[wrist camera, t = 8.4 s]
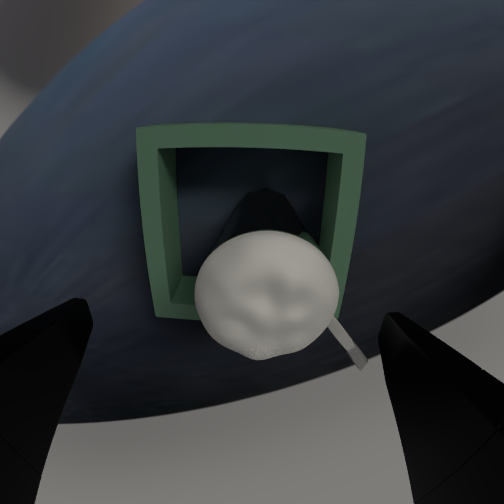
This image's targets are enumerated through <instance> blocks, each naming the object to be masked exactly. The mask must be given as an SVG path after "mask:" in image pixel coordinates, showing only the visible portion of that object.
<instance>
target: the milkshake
mask: <svg viewBox="0 0 504 504" xmlns="http://www.w3.org/2000/svg"><path fill="white" fill-rule="evenodd" d="M194 297H195V305H196V309H197V312H198V314H199V317H200V319H201V321H202V323H203V325H204V327H205V329H206V330H207V332H208V333H209V334H210V335H211V337H212V338H213V339H214V340H216V341H217V342H218V343H220V344H221V345H223V346H225V347H226V348H229V349H231V350H233V351H235V352H238V353H240V354H242V355H243V356H245V357H248V358H250V359H253V360H264V359H268V358H271V357H275V356H279V355H283V354H288V353H293V352H296V351H299V350H301V349H303V348H305V347H306V346H308V345H309V344H310V343H312V342H313V341H314V340H315V339H316V338H317V337H318V336H319V335H320V334H321V333H322V332H323V331H324V330H325V329H326V327H328V328H329V330H330V331H331V332H332V334H333V335H334V336H335V338H336V339H337V340H338V342H339V343H340V344H341V346H342V347H343V349H344V350H345V351H346V353H347V354H348V355H349V357H350V358H351V359H352V361H353V362H354V364H355V365H356V366H357V368H358V369H359V370H361V369H363V367H364V366H365V365H366V364H367V362H368V359H367V358H366V356H365V355H364V354H363V352H362V351H361V350H360V349H359V347H358V346H357V345H356V343H355V342H354V341H353V339H352V338H351V337H350V336H349V334H348V333H347V332H346V330H345V329H344V328H343V327H342V325H341V324H340V323H339V322H338V320H337V319H336V318H335V316H334V313H335V311H336V308H337V304H338V300H339V286H338V281H337V277H336V274H335V272H334V270H333V268H332V266H331V264H330V262H329V261H328V259H327V258H326V256H325V255H324V253H323V252H322V250H321V249H320V248H319V246H318V245H317V243H316V242H315V240H314V239H313V237H312V236H311V235H310V233H309V232H308V231H307V229H306V228H305V227H304V225H303V224H302V222H301V220H300V219H299V217H298V215H297V213H296V212H295V210H294V209H293V207H292V206H291V204H290V202H289V201H288V199H287V198H286V196H285V195H284V194H281V193H279V192H276V191H273V190H271V189H268V188H264V189H260V190H257V191H253V192H249V193H247V194H246V196H245V197H244V198H243V199H242V201H241V202H240V203H239V204H238V206H237V207H236V208H235V210H234V212H233V214H232V216H231V217H230V219H229V221H228V223H227V225H226V227H225V229H224V231H223V232H222V234H221V236H220V238H219V239H218V241H217V242H216V244H215V245H214V247H213V249H212V250H211V252H210V253H209V255H208V257H207V258H206V260H205V261H204V263H203V265H202V266H201V268H200V270H199V273H198V276H197V279H196V283H195V293H194Z"/></svg>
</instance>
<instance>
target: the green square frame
mask: <svg viewBox="0 0 504 504" xmlns="http://www.w3.org/2000/svg"><path fill="white" fill-rule="evenodd" d="M136 144H137V165H138V181H139V194H140V206H141V216H142V226H143V235H144V243H145V251H146V259H147V266H148V273H149V280H150V286H151V292H152V298H153V304H154V310H155V315H156V317H165V318H177V319H190V320H201V319H200V317H199V314H198V312H197V309H196V305H195V297H194V293H195V283H196V279H197V276H183V272H182V260H181V248H180V234H179V218H178V200H177V177H176V148H185V147H248V148H275V149H293V150H308V151H321V152H328V160H327V172H326V183H325V194H324V204H323V213H322V222H321V231H320V239H319V248H320V249H321V250H322V252H323V253H324V255H325V256H326V258H327V259H328V261H329V262H330V264H331V266H332V268H333V270H334V272H335V274H336V277H337V281H338V286H339V300H338V304H337V308H336V311H335V313H334V316H335V318H336V319H337V320H338V317H339V312H340V308H341V303H342V298H343V294H344V289H345V284H346V279H347V274H348V268H349V263H350V257H351V252H352V246H353V240H354V234H355V227H356V221H357V214H358V207H359V200H360V192H361V184H362V175H363V166H364V156H365V146H366V134H365V133H360V132H356V131H351V130H345V129H336V128H326V127H316V126H304V125H290V124H272V123H236V122H216V123H180V124H162V125H152V126H145V127H139V128H136Z"/></svg>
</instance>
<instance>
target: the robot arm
mask: <svg viewBox="0 0 504 504" xmlns="http://www.w3.org/2000/svg"><path fill="white" fill-rule="evenodd" d="M92 328H93V320H92V316H91V313H90V310H89V307H88V303H87V301H86V300H85V299H81V298H73V299H71V300H69V301H67V302H64V303H62V304H60V305H58V306H56V307H54V308H52V309H50V310H48V311H46V312H44V313H43V314H41V315H39V316H37V317H35V318H33V319H31V320H29V321H27V322H25V323H23V324H21V325H19V326H17V327H15V328H13V329H11V330H9V331H8V332H6V333H4V334H2V335H0V504H34V503H35V500H36V495H37V491H38V488H39V484H40V480H41V475H42V472H43V469H44V465H45V462H46V459H47V455H48V452H49V449H50V446H51V443H52V440H53V437H54V434H55V431H56V428H57V425H58V422H59V419H60V416H61V414H62V411H63V408H64V406H65V403H66V400H67V398H68V395H69V393H70V390H71V388H72V385H73V383H74V380H75V378H76V375H77V373H78V370H79V368H80V365H81V362H82V359H83V356H84V352H85V349H86V346H87V343H88V340H89V337H90V334H91V331H92ZM378 343H379V348H380V353H381V358H382V364H383V370H384V375H385V381H386V385H387V389H388V393H389V396H390V400H391V404H392V407H393V411H394V415H395V418H396V422H397V427H398V430H399V434H400V438H401V443H402V447H403V452H404V456H405V461H406V465H407V470H408V474H409V480H410V484H411V490H412V495H413V502H414V503H415V504H504V384H503V383H502V382H500V381H499V380H498V379H496V378H495V377H493V376H492V375H490V374H489V373H488V372H486V371H485V370H482V369H481V368H480V367H479V366H478V365H476V364H475V363H473V362H472V361H471V360H469V359H468V358H466V357H465V356H463V355H462V354H460V353H459V352H458V351H456V350H455V349H453V348H452V347H450V346H449V345H447V344H446V343H444V342H443V341H441V340H440V339H438V338H437V337H436V336H434V335H433V334H431V333H430V332H428V331H427V330H425V329H424V328H422V327H421V326H419V325H418V324H416V323H415V322H413V321H412V320H410V319H409V318H407V317H406V316H404V315H403V314H401V313H399V312H389V313H387V314H386V315H385V317H384V319H383V322H382V326H381V329H380V332H379V335H378Z"/></svg>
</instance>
